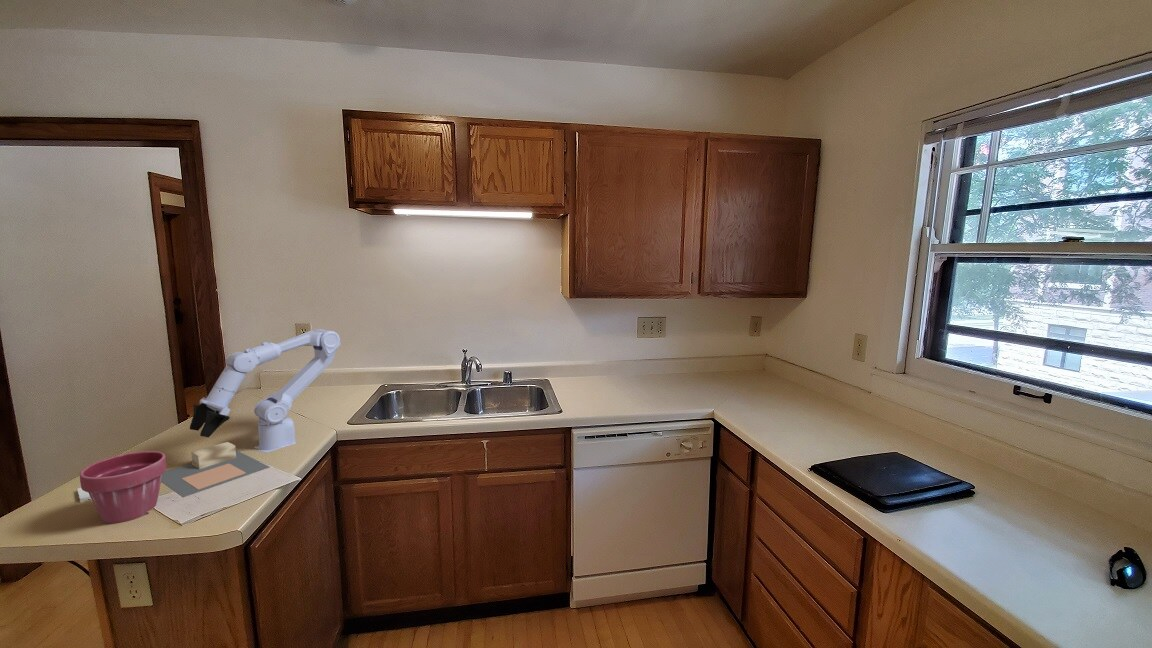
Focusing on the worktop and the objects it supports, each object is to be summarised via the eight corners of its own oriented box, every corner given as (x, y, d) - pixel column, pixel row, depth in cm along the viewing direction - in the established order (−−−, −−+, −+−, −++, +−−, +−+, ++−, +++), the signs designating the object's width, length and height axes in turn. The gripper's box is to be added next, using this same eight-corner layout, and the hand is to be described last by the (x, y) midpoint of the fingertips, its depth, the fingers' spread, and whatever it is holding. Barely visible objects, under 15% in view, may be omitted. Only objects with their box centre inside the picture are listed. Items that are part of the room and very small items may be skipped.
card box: (228, 453, 134) (227, 441, 134) (236, 457, 132) (235, 445, 131) (192, 464, 126) (191, 452, 126) (199, 469, 124) (198, 456, 123)
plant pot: (149, 524, 98) (143, 472, 97) (68, 535, 94) (60, 481, 92) (182, 493, 112) (177, 447, 110) (112, 502, 107) (106, 454, 105)
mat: (236, 451, 137) (236, 449, 137) (270, 468, 126) (270, 466, 126) (152, 477, 120) (151, 474, 120) (183, 499, 109) (183, 496, 109)
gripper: (200, 380, 129) (173, 423, 125) (220, 390, 122) (193, 436, 118) (225, 387, 135) (200, 428, 131) (246, 397, 128) (221, 441, 124)
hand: (198, 433), depth 125 cm, fingers open, 7 cm apart
